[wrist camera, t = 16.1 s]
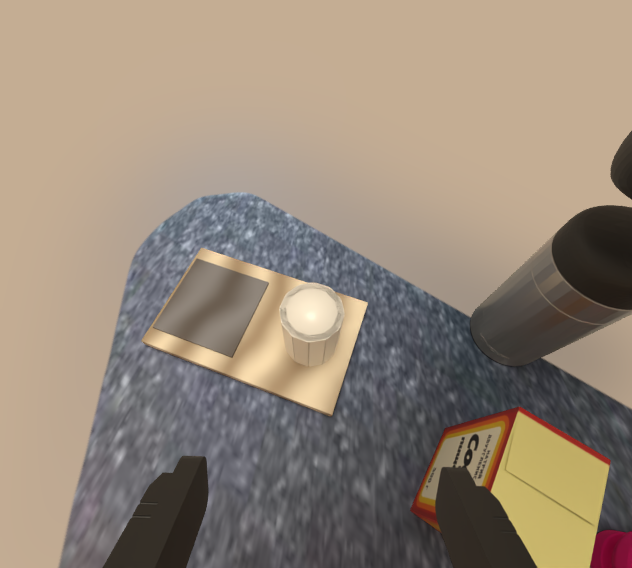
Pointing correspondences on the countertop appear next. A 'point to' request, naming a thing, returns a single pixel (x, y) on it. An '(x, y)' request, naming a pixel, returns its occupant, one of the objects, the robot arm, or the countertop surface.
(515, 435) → the red cream cardboard box
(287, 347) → the cover cup
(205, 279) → the board
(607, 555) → the pepper mill
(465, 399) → the countertop surface
